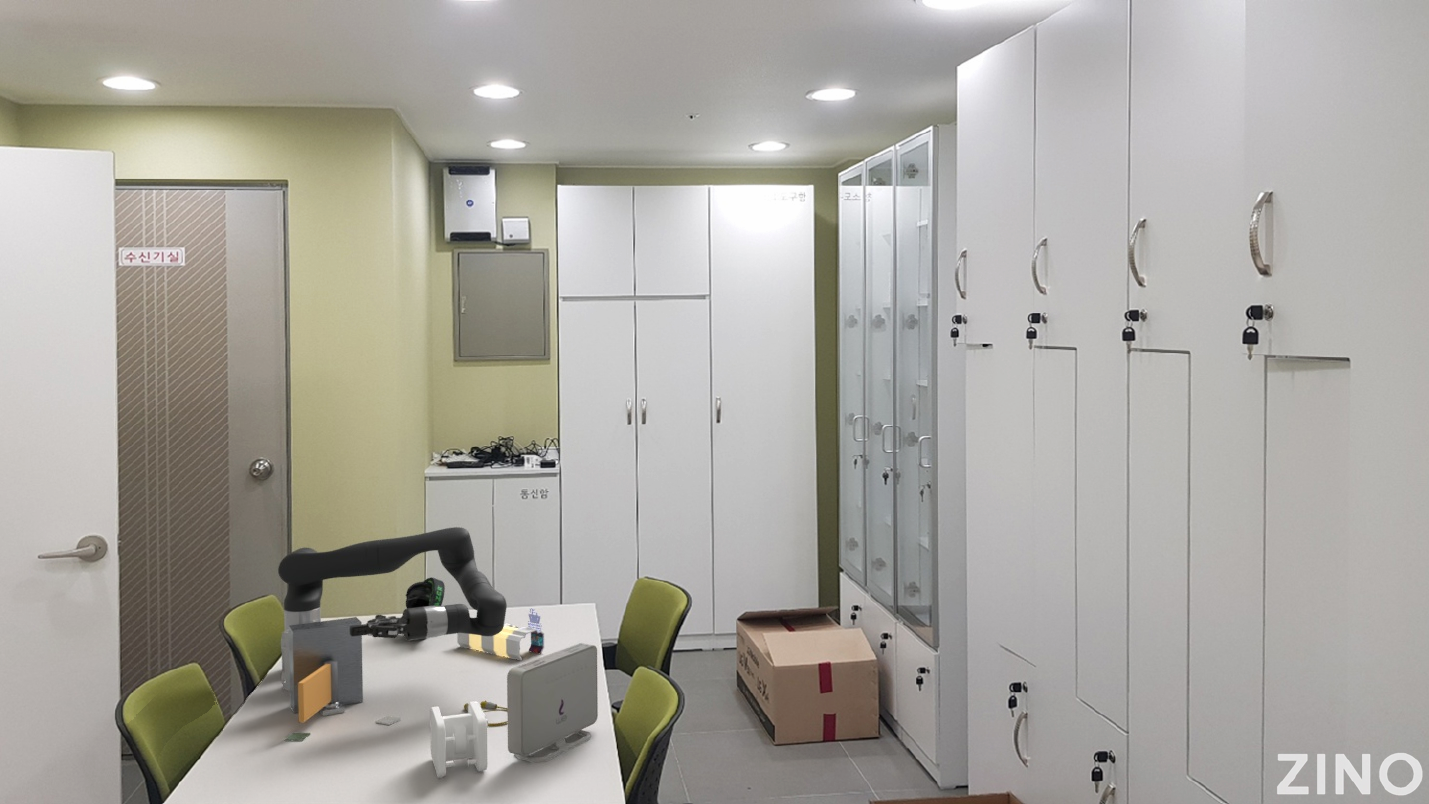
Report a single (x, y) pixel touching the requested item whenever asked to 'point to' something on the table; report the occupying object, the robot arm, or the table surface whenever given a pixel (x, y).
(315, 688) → the orange rectangular panel
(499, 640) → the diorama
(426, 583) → the headset
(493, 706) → the extension cord
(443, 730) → the cable organizer
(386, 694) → the table surface
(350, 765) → the table surface
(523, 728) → the network device
